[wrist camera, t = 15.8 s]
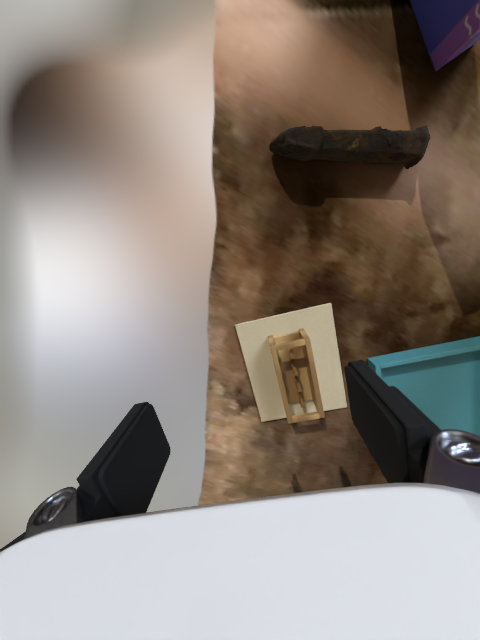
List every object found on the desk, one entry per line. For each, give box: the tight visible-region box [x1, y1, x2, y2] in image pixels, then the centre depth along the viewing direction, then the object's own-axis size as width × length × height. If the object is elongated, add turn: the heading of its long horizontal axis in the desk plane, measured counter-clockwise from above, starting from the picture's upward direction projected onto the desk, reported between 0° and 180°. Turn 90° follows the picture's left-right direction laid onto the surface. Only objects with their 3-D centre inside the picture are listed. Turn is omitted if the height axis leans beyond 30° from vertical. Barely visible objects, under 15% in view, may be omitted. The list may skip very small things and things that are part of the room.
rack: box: [268, 328, 325, 424], centre depth 38 cm, size 6×14×5 cm, turn 14°
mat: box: [235, 303, 347, 422], centre depth 41 cm, size 16×20×1 cm
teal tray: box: [367, 336, 480, 437], centre depth 40 cm, size 20×24×3 cm
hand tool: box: [269, 125, 430, 169], centre depth 29 cm, size 19×4×5 cm, turn 85°
